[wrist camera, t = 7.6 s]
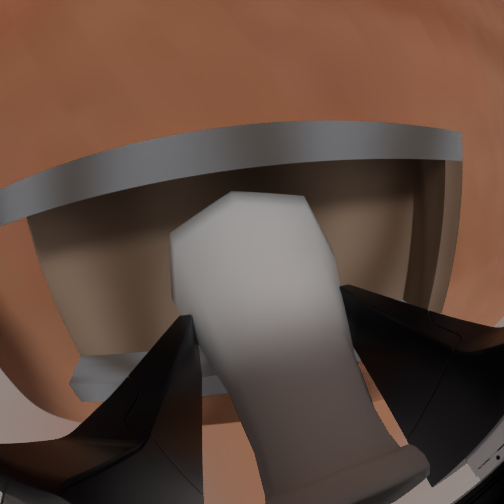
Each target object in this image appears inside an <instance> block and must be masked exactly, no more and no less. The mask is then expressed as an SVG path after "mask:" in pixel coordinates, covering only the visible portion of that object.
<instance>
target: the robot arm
mask: <svg viewBox="0 0 504 504" xmlns="http://www.w3.org/2000/svg"><path fill="white" fill-rule="evenodd" d="M339 288H340V291H341V294H342V298H343V302H344V306H345V311H346V315H347V320H348V325H349V329H350V334H351V339H352V344H353V348H354V349H355V351H356V353H357V354H358V356H359V358H360V359H361V361H362V363H363V364H364V366H365V368H366V369H367V371H368V373H369V374H370V376H371V378H372V379H373V381H374V383H375V385H376V386H377V388H378V390H379V391H380V393H381V395H382V397H383V398H384V400H385V402H386V403H387V405H388V407H389V408H390V411H391V412H392V414H393V416H394V418H395V420H396V421H397V423H398V425H399V427H400V429H401V430H402V432H403V434H404V436H405V438H406V439H407V442H408V443H409V444H410V445H413V446H415V447H417V448H418V449H419V450H420V451H421V452H422V453H423V454H424V455H425V456H426V458H427V460H428V462H429V464H430V474H429V475H428V476H427V479H428V481H429V483H430V485H431V486H432V487H434V486H435V485H437V484H438V483H440V482H442V481H443V480H444V479H446V478H447V477H449V476H450V475H452V474H453V473H454V472H456V471H457V470H458V469H460V468H461V467H462V466H464V465H465V464H466V463H468V465H469V466H470V468H471V469H472V470H473V472H474V474H475V475H476V477H477V476H478V477H479V478H480V480H481V481H480V482H478V483H477V484H476V485H475V486H474V487H472V488H471V489H470V490H469V491H467V492H466V493H465V494H464V495H462V496H461V497H460V498H458V499H457V500H456V501H454V502H453V503H452V504H504V327H501V328H495V327H490V326H486V325H481V324H477V323H473V322H469V321H465V320H461V319H457V318H453V317H449V316H446V315H443V314H439V313H436V312H433V311H428V310H427V309H424V308H421V307H418V306H415V305H411V304H408V303H405V302H402V301H399V300H396V299H393V298H390V297H387V296H384V295H381V294H377V293H374V292H371V291H368V290H365V289H362V288H359V287H356V286H353V285H350V284H347V285H342V286H339ZM0 491H1V492H2V493H3V494H2V498H1V503H0V504H204V497H203V468H202V370H201V361H200V352H199V344H198V342H197V339H196V334H195V329H194V323H193V318H192V315H190V314H188V315H181V316H179V317H178V318H177V319H176V320H175V321H174V322H173V323H172V325H171V326H170V327H169V328H168V329H167V330H166V332H165V333H164V334H163V335H162V336H161V337H160V339H159V340H158V341H157V342H156V343H155V344H154V346H153V347H152V348H151V349H150V350H149V351H148V353H147V354H146V355H145V356H144V357H143V358H142V360H141V361H140V362H139V363H138V364H137V365H136V367H135V368H134V369H133V370H132V371H131V373H130V374H129V375H128V377H126V378H125V379H124V381H123V382H122V383H121V384H120V385H119V386H118V388H117V389H116V390H115V391H114V392H113V393H112V394H111V395H110V396H109V397H108V398H107V399H106V400H105V401H104V402H103V403H102V404H101V405H100V406H99V407H98V408H97V409H96V410H95V411H94V412H93V413H92V414H91V415H90V416H89V417H88V418H87V419H86V420H85V421H84V422H82V423H81V424H80V425H79V426H78V427H77V428H76V429H75V430H74V431H73V432H71V433H70V434H69V435H67V436H65V437H62V438H59V439H55V440H48V441H39V442H29V443H13V444H0Z"/></svg>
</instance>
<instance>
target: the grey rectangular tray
mask: <svg viewBox="0 0 504 504" xmlns="http://www.w3.org/2000/svg"><path fill="white" fill-rule="evenodd" d="M230 191H242V192H259V193H274V194H287V195H298V196H304V197H305V199H306V201H307V203H308V204H309V206H310V208H311V210H312V212H313V214H314V216H315V217H316V219H317V221H318V223H319V225H320V227H321V229H322V231H323V233H324V235H325V237H326V238H327V240H328V242H329V244H330V246H331V248H332V250H333V253H334V257H335V261H336V265H337V271H338V276H339V281H340V286H342V285H347V284H350V285H353V286H356V287H359V288H362V289H365V290H368V291H371V292H374V293H377V294H381V295H384V296H387V297H390V298H393V299H396V300H399V301H402V302H405V303H408V304H411V305H415V306H418V307H421V308H424V309H427V310H428V311H433V312H436V313H439V314H441V313H442V310H443V306H444V302H445V298H446V294H447V290H448V286H449V281H450V276H451V272H452V266H453V261H454V255H455V249H456V243H457V236H458V228H459V219H460V208H461V194H462V132H457V131H451V130H445V129H438V128H431V127H424V126H415V125H406V124H395V123H383V122H365V121H292V122H274V123H260V124H249V125H239V126H230V127H222V128H215V129H207V130H201V131H194V132H188V133H182V134H177V135H172V136H166V137H161V138H156V139H152V140H147V141H143V142H138V143H134V144H130V145H126V146H122V147H118V148H114V149H111V150H107V151H103V152H100V153H96V154H93V155H90V156H86V157H83V158H80V159H77V160H74V161H71V162H68V163H65V164H62V165H59V166H56V167H53V168H51V169H48V170H45V171H43V172H40V173H37V174H35V175H32V176H30V177H27V178H25V179H23V180H20V181H18V182H16V183H13V184H11V185H9V186H7V187H4V188H2V189H0V226H2V225H5V224H7V223H10V222H13V221H16V220H19V219H21V218H24V217H27V221H28V225H29V229H30V233H31V236H32V240H33V243H34V246H35V250H36V253H37V256H38V259H39V262H40V265H41V268H42V270H43V273H44V276H45V279H46V281H47V284H48V287H49V289H50V292H51V294H52V296H53V299H54V301H55V304H56V306H57V308H58V310H59V313H60V315H61V317H62V319H63V321H64V324H65V326H66V328H67V330H68V332H69V334H70V336H71V338H72V340H73V342H74V344H75V345H76V347H77V349H78V351H79V353H80V355H81V357H80V360H79V362H78V364H77V366H76V369H75V371H74V373H73V376H72V378H71V380H70V383H69V385H70V386H71V388H72V389H73V390H74V392H75V393H76V395H77V396H78V397H79V399H80V400H81V401H87V402H104V401H105V400H106V399H107V398H108V397H109V396H110V395H111V394H112V393H113V392H114V391H115V390H116V389H117V388H118V386H119V385H120V384H121V383H122V382H123V381H124V379H125V378H126V377H128V375H129V374H130V373H131V371H132V370H133V369H134V368H135V367H136V365H137V364H138V363H139V362H140V361H141V360H142V358H143V357H144V356H145V355H146V354H147V353H148V351H149V350H150V349H151V348H152V347H153V346H154V344H155V343H156V342H157V341H158V340H159V339H160V337H161V336H162V335H163V334H164V333H165V332H166V330H167V329H168V328H169V327H170V326H171V325H172V323H173V322H174V321H175V320H176V319H177V318H178V317H179V316H181V315H180V313H179V311H178V310H177V308H176V306H175V304H174V302H173V300H172V298H171V277H170V233H171V232H172V231H173V230H175V229H176V228H178V227H179V226H180V225H182V224H183V223H185V222H186V221H188V220H189V219H190V218H192V217H193V216H195V215H196V214H198V213H199V212H201V211H202V210H204V209H205V208H206V207H208V206H209V205H211V204H212V203H214V202H215V201H217V200H218V199H220V198H221V197H223V196H224V195H226V194H227V193H229V192H230ZM353 349H354V348H353ZM199 352H200V361H201V370H202V397H204V396H212V395H219V394H226V393H228V392H227V390H226V389H225V387H224V385H223V384H222V382H221V381H220V379H219V377H218V376H217V374H216V373H215V371H214V369H213V368H212V366H211V364H210V363H209V361H208V359H207V358H206V356H205V354H204V352H203V351H202V349H201V347H200V345H199ZM354 355H355V357H356V360H357V362H360V361H361V359H360V358H359V356H358V354H357V353H356V351H355V349H354Z"/></svg>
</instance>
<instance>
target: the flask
mask: <svg viewBox="0 0 504 504" xmlns="http://www.w3.org/2000/svg"><path fill="white" fill-rule="evenodd" d="M170 277H171V298H172V300H173V302H174V304H175V306H176V308H177V310H178V311H179V313H180V315H188V314H190V315H192V318H193V323H194V329H195V334H196V339H197V342H198V344H199V345H200V347H201V349H202V351H203V352H204V354H205V356H206V358H207V359H208V361H209V363H210V364H211V366H212V368H213V369H214V371H215V373H216V374H217V376H218V377H219V379H220V381H221V382H222V384H223V385H224V387H225V389H226V390H227V392H228V393H229V395H230V397H231V400H232V402H233V405H234V407H235V409H236V412H237V414H238V417H239V419H240V421H241V424H242V426H243V428H244V431H245V433H246V435H247V437H248V439H249V442H250V444H251V446H252V448H253V451H254V453H255V457H256V461H257V465H258V469H259V473H260V477H261V481H262V485H263V489H264V493H265V501H266V503H265V504H391V503H393V502H395V501H396V500H398V499H399V498H401V497H402V496H403V495H405V494H406V493H407V492H409V491H410V490H411V489H413V488H414V487H415V486H417V485H418V484H419V483H420V482H422V481H423V480H424V479H425V478H426V477H427V476H428V475H429V474H430V464H429V462H428V460H427V458H426V456H425V455H424V454H423V453H422V452H421V451H420V450H419V449H418V448H417V447H415V446H413V445H410V444H408V445H405V446H403V447H400V446H399V445H398V444H397V442H396V441H395V440H394V439H393V438H392V436H391V435H390V434H389V432H388V431H387V429H386V427H385V426H384V424H383V422H382V420H381V419H380V417H379V416H378V413H377V412H376V410H375V408H374V405H373V403H372V400H371V397H370V394H369V392H368V389H367V386H366V383H365V381H364V378H363V376H362V373H361V370H360V368H359V365H358V363H357V360H356V357H355V355H354V349H353V344H352V339H351V334H350V329H349V325H348V320H347V315H346V311H345V306H344V302H343V298H342V294H341V291H340V288H339V286H340V281H339V276H338V271H337V265H336V261H335V257H334V253H333V250H332V248H331V246H330V244H329V242H328V240H327V238H326V237H325V235H324V233H323V231H322V229H321V227H320V225H319V223H318V221H317V219H316V217H315V216H314V214H313V212H312V210H311V208H310V206H309V204H308V203H307V201H306V199H305V197H304V196H298V195H287V194H274V193H259V192H242V191H230V192H229V193H227V194H226V195H224V196H223V197H221V198H220V199H218V200H217V201H215V202H214V203H212V204H211V205H209V206H208V207H206V208H205V209H204V210H202V211H201V212H199V213H198V214H196V215H195V216H193V217H192V218H190V219H189V220H188V221H186V222H185V223H183V224H182V225H180V226H179V227H178V228H176V229H175V230H173V231H172V232H171V233H170Z"/></svg>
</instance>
